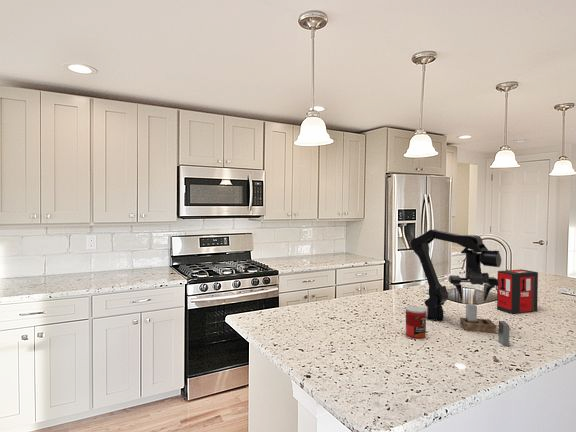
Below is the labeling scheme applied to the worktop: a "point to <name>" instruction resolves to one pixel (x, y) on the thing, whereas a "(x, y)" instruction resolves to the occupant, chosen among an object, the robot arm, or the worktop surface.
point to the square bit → (471, 313)
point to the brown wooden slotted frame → (478, 325)
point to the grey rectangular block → (503, 333)
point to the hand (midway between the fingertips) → (472, 300)
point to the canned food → (415, 322)
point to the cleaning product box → (517, 291)
